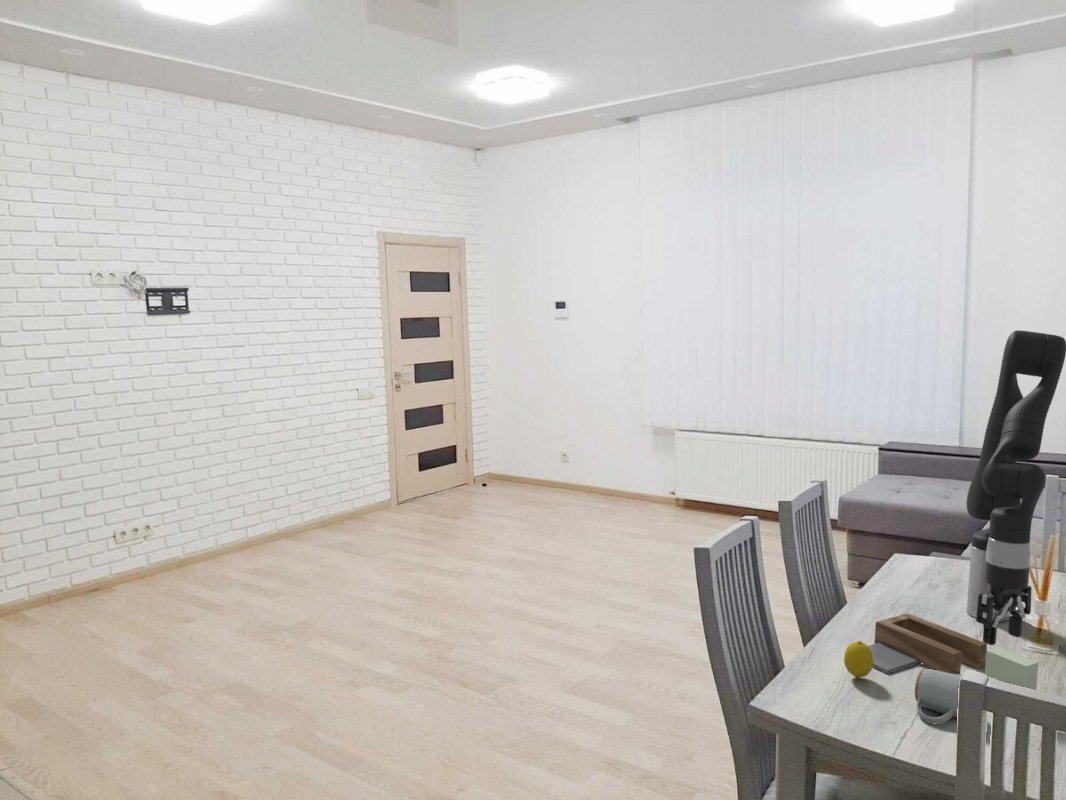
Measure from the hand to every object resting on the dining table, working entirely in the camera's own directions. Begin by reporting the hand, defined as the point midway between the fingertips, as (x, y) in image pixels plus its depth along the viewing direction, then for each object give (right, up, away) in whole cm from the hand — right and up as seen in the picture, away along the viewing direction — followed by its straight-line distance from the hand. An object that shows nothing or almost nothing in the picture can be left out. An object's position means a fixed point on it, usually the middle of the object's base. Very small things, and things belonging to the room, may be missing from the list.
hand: (1002, 639), depth 162 cm
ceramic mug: (-18, -11, -10) cm, 23 cm away
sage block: (+1, -10, -1) cm, 10 cm away
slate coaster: (-19, -8, +12) cm, 24 cm away
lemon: (-27, -9, +4) cm, 29 cm away
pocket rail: (-7, -8, +15) cm, 18 cm away
